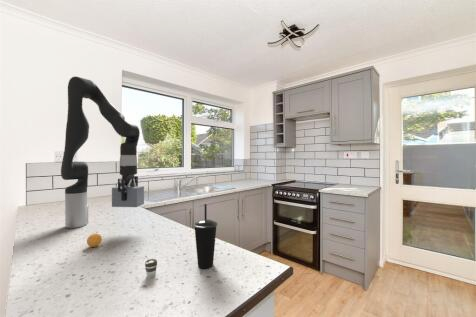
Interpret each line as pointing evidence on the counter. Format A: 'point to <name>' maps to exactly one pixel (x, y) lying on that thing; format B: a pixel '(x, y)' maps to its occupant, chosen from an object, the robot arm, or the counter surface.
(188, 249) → the counter surface
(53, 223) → the counter surface
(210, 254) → the drinking cup
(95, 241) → the ball
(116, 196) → the matte grey box
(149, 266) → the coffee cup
